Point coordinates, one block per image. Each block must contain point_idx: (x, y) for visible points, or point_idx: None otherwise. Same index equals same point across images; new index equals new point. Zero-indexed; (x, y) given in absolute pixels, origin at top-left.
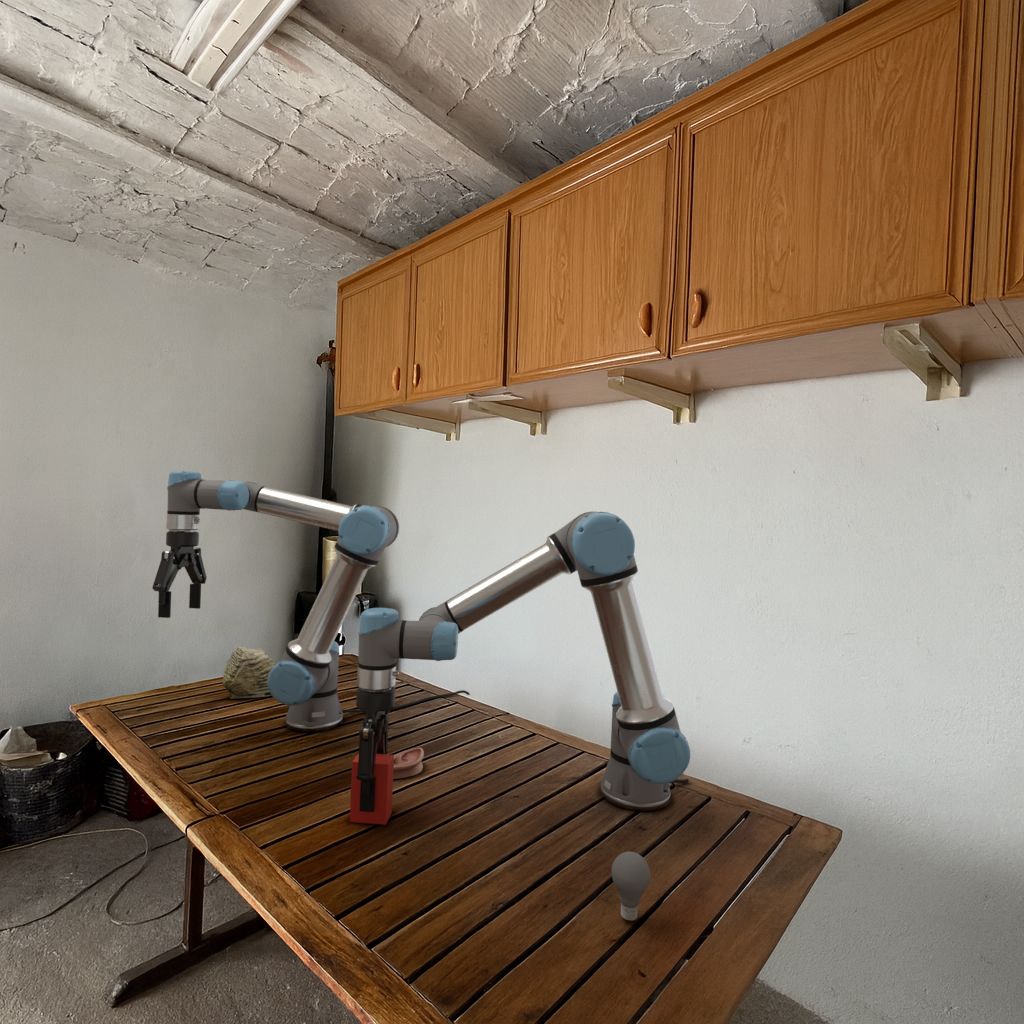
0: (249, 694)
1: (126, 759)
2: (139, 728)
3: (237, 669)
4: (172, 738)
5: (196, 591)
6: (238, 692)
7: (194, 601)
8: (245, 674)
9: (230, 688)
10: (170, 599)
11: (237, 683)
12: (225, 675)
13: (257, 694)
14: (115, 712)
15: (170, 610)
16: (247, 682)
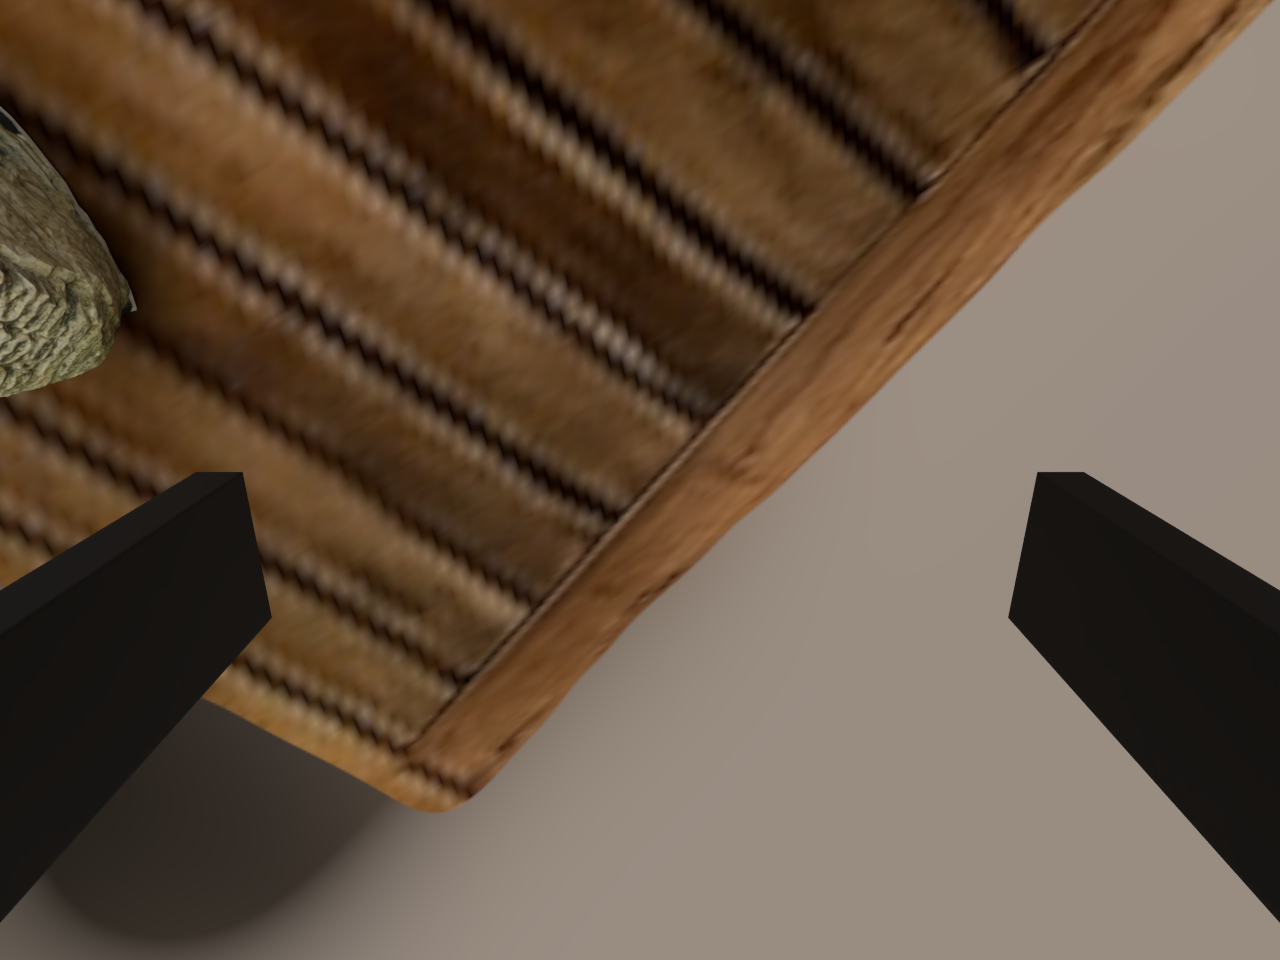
0: (73, 209)
1: (931, 336)
2: (612, 485)
3: (20, 272)
4: (697, 286)
5: (39, 689)
6: (108, 260)
7: (191, 599)
8: (13, 222)
9: (118, 304)
10: (1275, 619)
11: (89, 261)
12: (53, 365)
13: (43, 168)
14: (467, 672)
15: (1105, 514)
16: (39, 213)
